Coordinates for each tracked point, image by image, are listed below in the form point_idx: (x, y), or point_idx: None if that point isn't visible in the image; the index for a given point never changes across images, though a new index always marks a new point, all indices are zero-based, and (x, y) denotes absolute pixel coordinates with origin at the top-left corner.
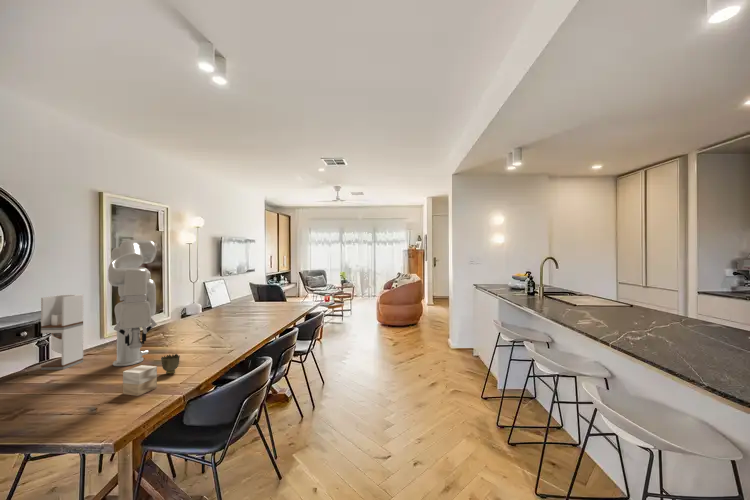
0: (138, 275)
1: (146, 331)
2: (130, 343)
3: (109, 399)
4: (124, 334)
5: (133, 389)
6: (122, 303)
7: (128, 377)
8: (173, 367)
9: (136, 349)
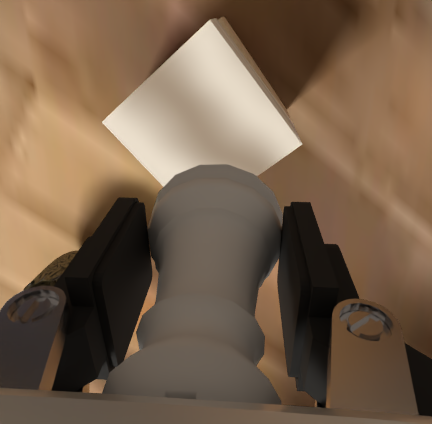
0: None
1: (6, 318)
2: (271, 241)
3: (348, 60)
4: (396, 329)
5: (244, 49)
6: None
7: (270, 97)
8: (67, 253)
9: None
